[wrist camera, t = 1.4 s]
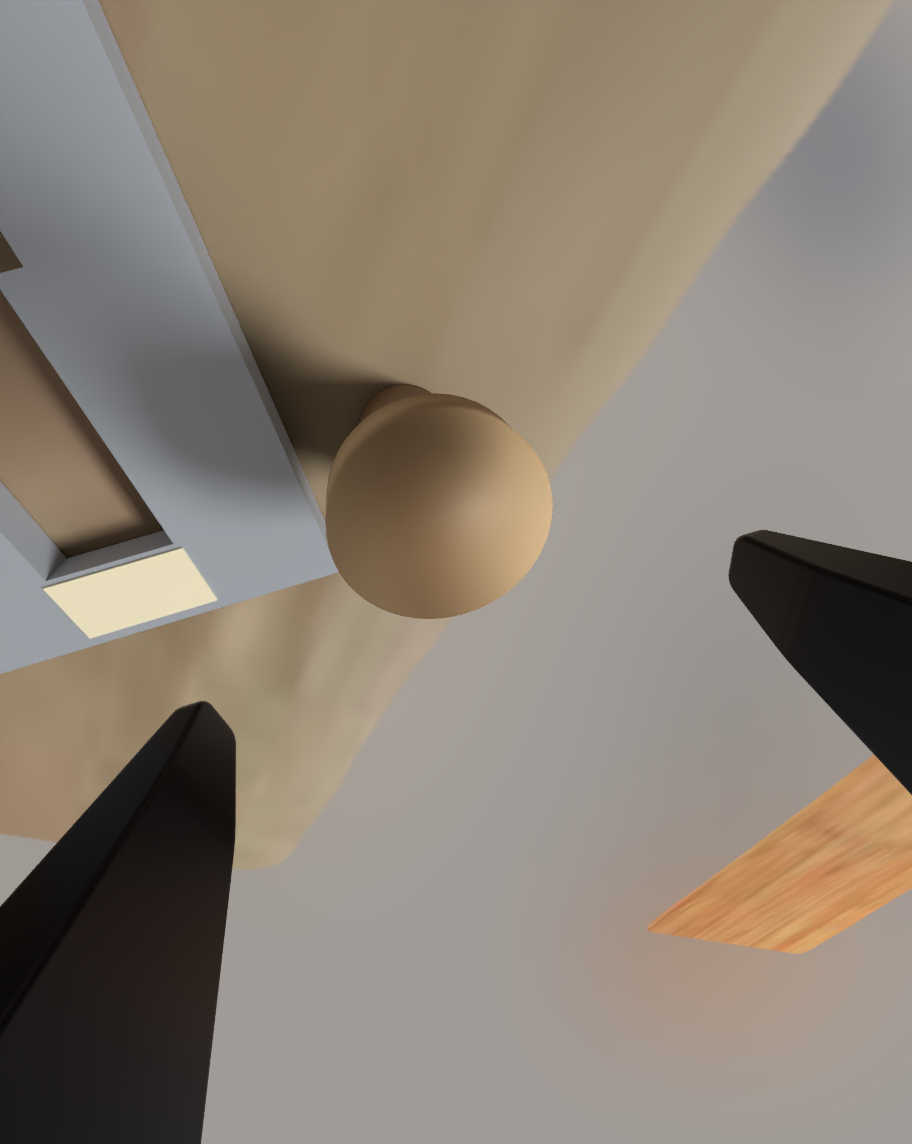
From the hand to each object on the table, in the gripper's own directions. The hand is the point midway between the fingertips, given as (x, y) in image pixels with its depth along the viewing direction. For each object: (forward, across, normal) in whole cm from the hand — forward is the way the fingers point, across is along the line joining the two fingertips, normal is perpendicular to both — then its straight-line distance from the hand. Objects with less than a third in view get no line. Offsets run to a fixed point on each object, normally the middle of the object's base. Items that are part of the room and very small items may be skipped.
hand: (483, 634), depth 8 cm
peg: (+12, 0, 0) cm, 12 cm away
